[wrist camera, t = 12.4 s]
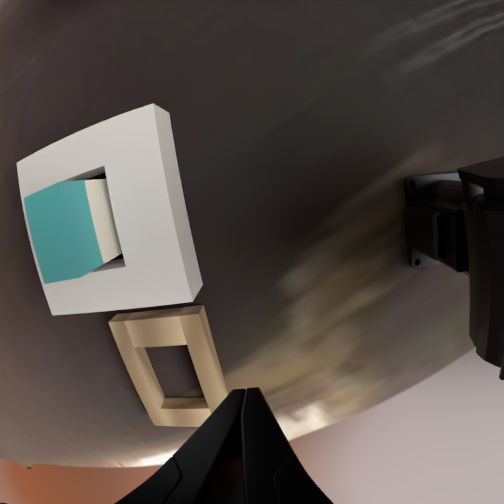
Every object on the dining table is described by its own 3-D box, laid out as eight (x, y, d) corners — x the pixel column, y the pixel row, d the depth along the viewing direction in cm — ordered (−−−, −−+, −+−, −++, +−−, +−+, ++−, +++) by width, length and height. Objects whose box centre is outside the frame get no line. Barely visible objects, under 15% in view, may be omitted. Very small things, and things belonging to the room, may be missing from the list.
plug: (119, 178, 19) (58, 182, 12) (134, 246, 20) (81, 277, 13) (86, 189, 19) (23, 198, 12) (101, 253, 20) (44, 284, 14)
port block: (169, 113, 18) (153, 103, 15) (202, 284, 20) (192, 301, 18) (40, 162, 19) (16, 162, 16) (72, 301, 22) (52, 315, 19)
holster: (203, 304, 21) (199, 313, 19) (234, 414, 23) (233, 425, 22) (116, 314, 21) (108, 322, 20) (159, 415, 24) (154, 425, 23)
